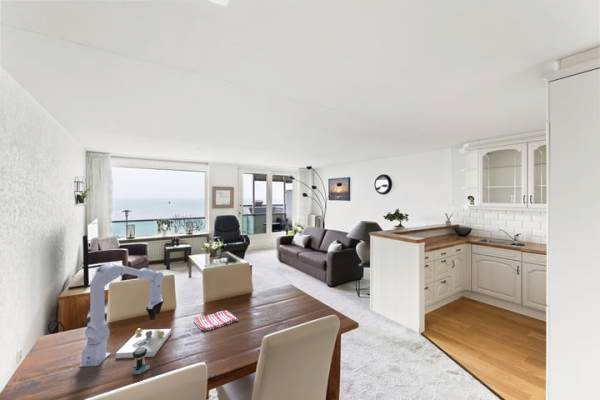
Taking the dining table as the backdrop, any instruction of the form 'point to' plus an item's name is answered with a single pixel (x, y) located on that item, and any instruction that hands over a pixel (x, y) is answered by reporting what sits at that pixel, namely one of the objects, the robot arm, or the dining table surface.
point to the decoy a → (138, 331)
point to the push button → (139, 360)
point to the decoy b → (160, 334)
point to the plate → (144, 343)
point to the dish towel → (214, 320)
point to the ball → (148, 333)
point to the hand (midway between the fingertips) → (155, 316)
